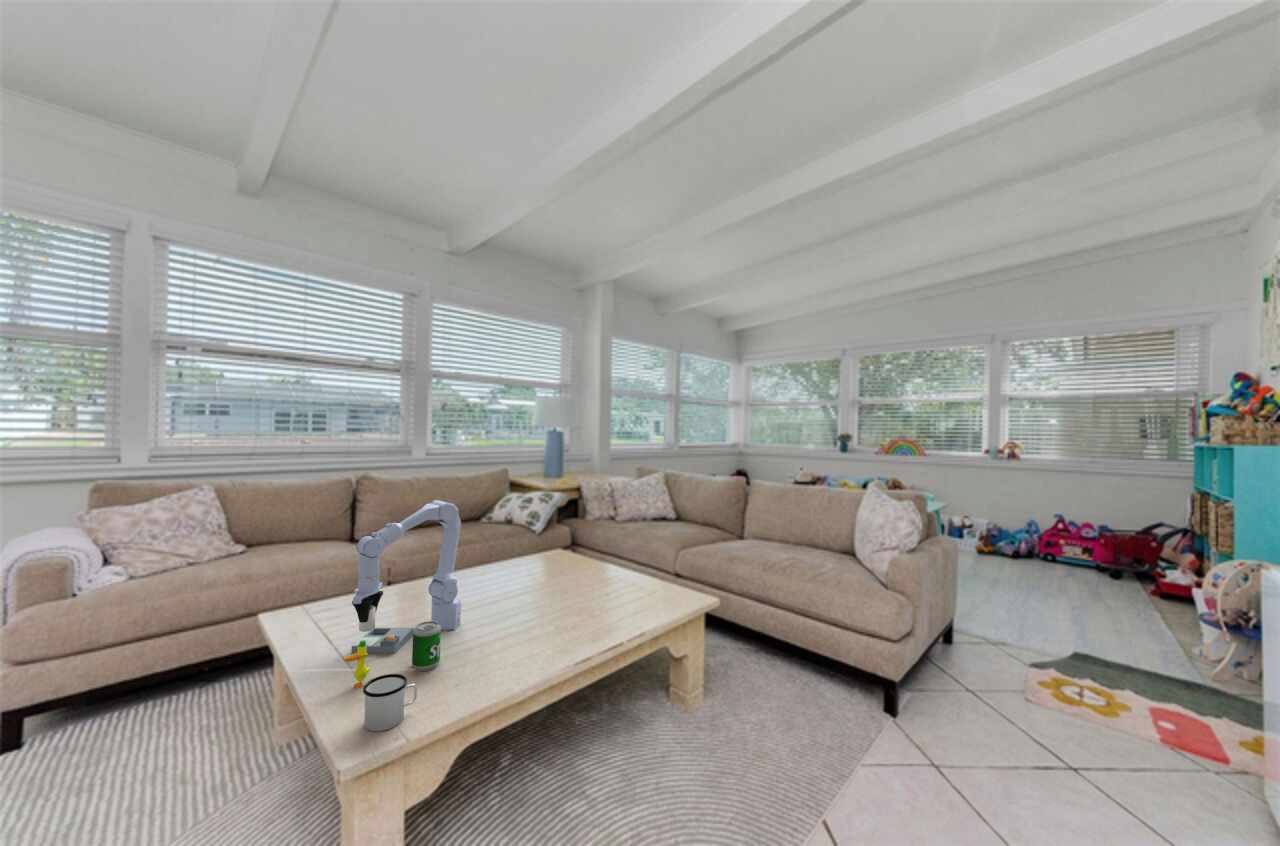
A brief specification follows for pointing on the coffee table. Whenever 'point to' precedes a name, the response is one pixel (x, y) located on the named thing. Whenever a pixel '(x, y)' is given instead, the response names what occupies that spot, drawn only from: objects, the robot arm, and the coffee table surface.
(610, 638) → the coffee table surface
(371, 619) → the cylinder
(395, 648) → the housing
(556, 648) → the coffee table surface
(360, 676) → the toy figure
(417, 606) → the coffee table surface
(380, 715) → the mug
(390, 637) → the plunger
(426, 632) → the soda can
